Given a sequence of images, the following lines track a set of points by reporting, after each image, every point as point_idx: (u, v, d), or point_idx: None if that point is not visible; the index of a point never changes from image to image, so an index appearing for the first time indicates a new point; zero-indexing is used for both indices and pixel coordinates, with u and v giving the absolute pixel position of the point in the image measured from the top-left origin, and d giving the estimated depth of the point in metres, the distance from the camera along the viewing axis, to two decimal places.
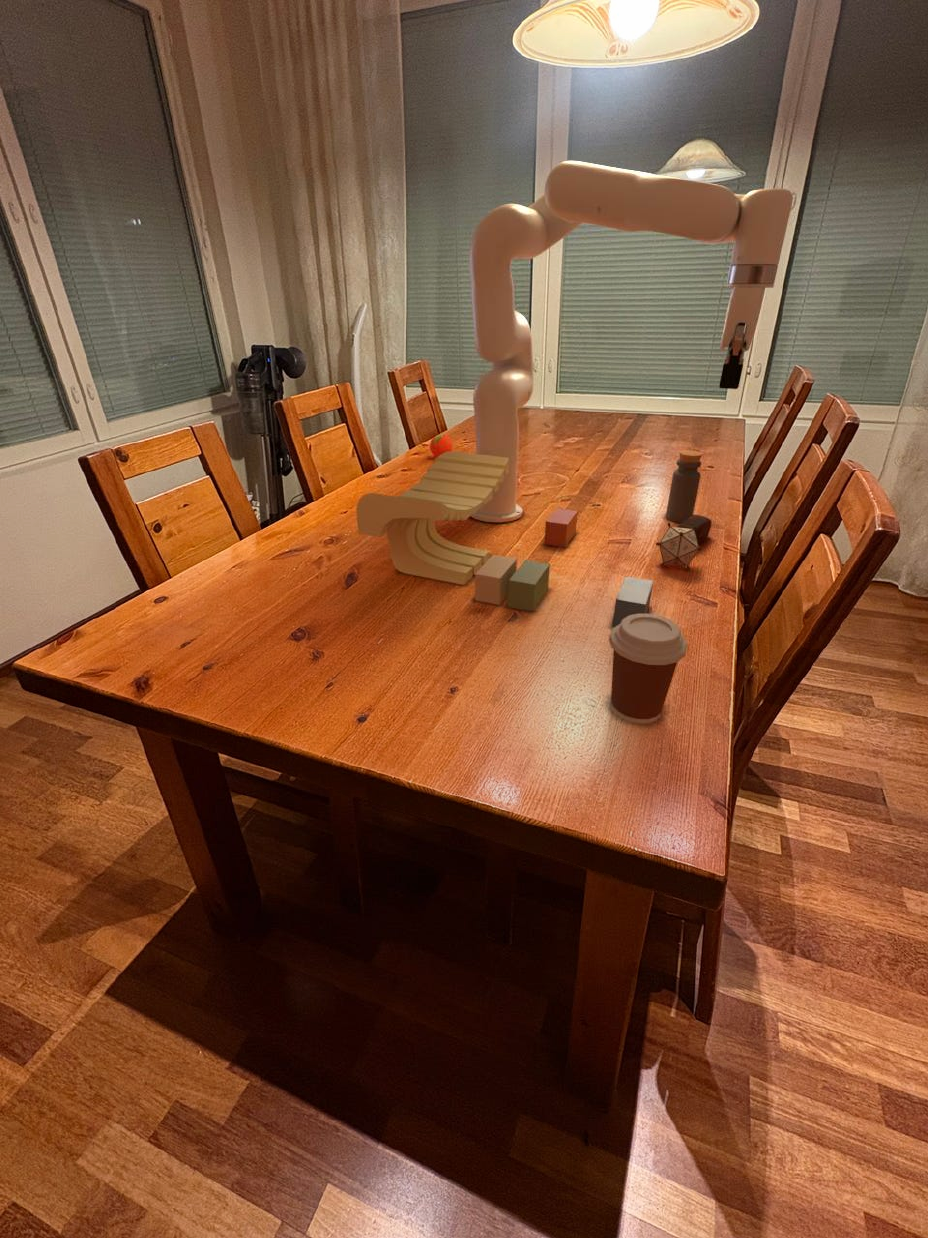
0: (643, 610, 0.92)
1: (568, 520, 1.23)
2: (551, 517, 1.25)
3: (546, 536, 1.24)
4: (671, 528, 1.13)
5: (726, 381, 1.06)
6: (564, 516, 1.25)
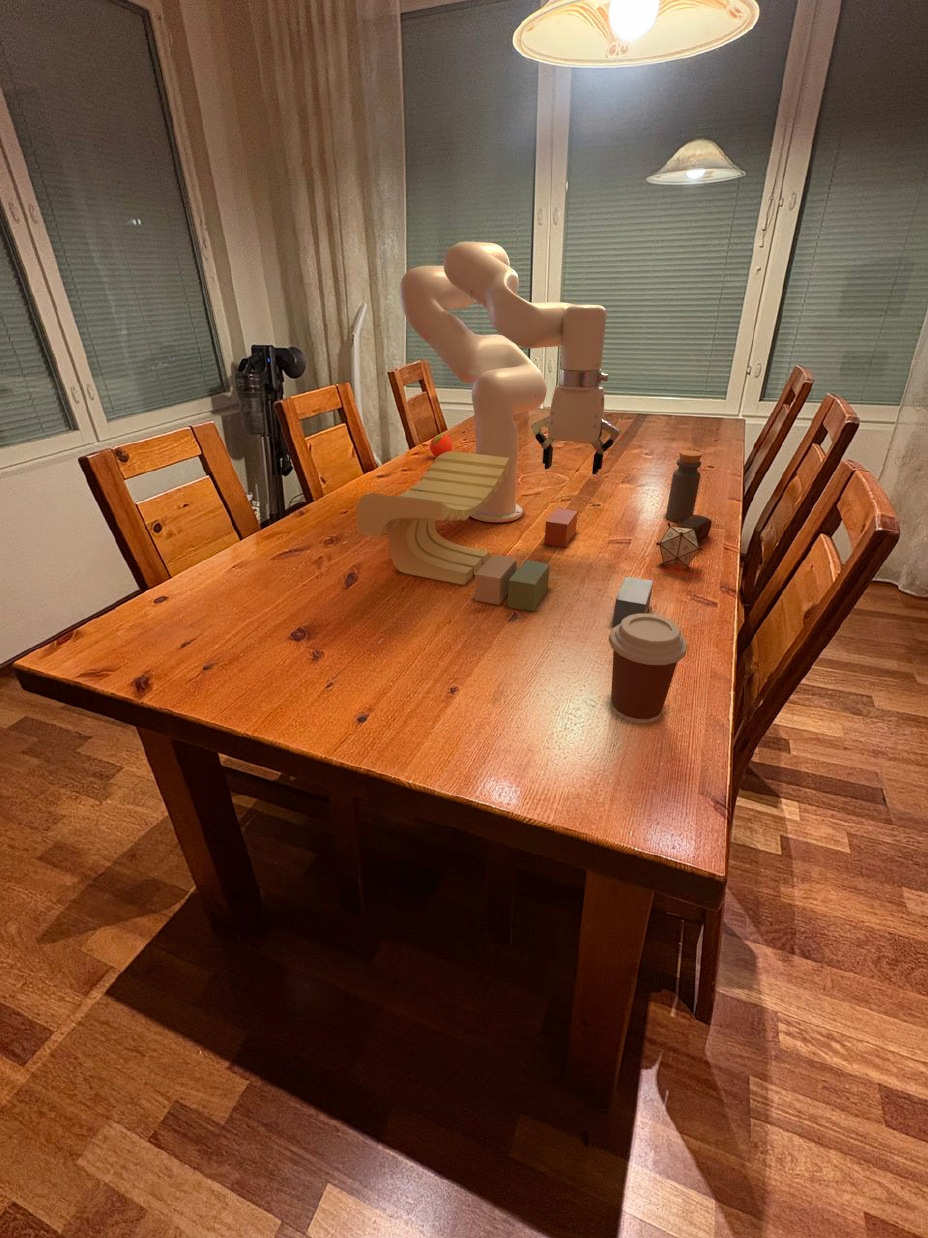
0: (643, 610, 0.92)
1: (568, 520, 1.23)
2: (551, 517, 1.25)
3: (546, 536, 1.24)
4: (671, 528, 1.13)
5: None
6: (564, 516, 1.25)
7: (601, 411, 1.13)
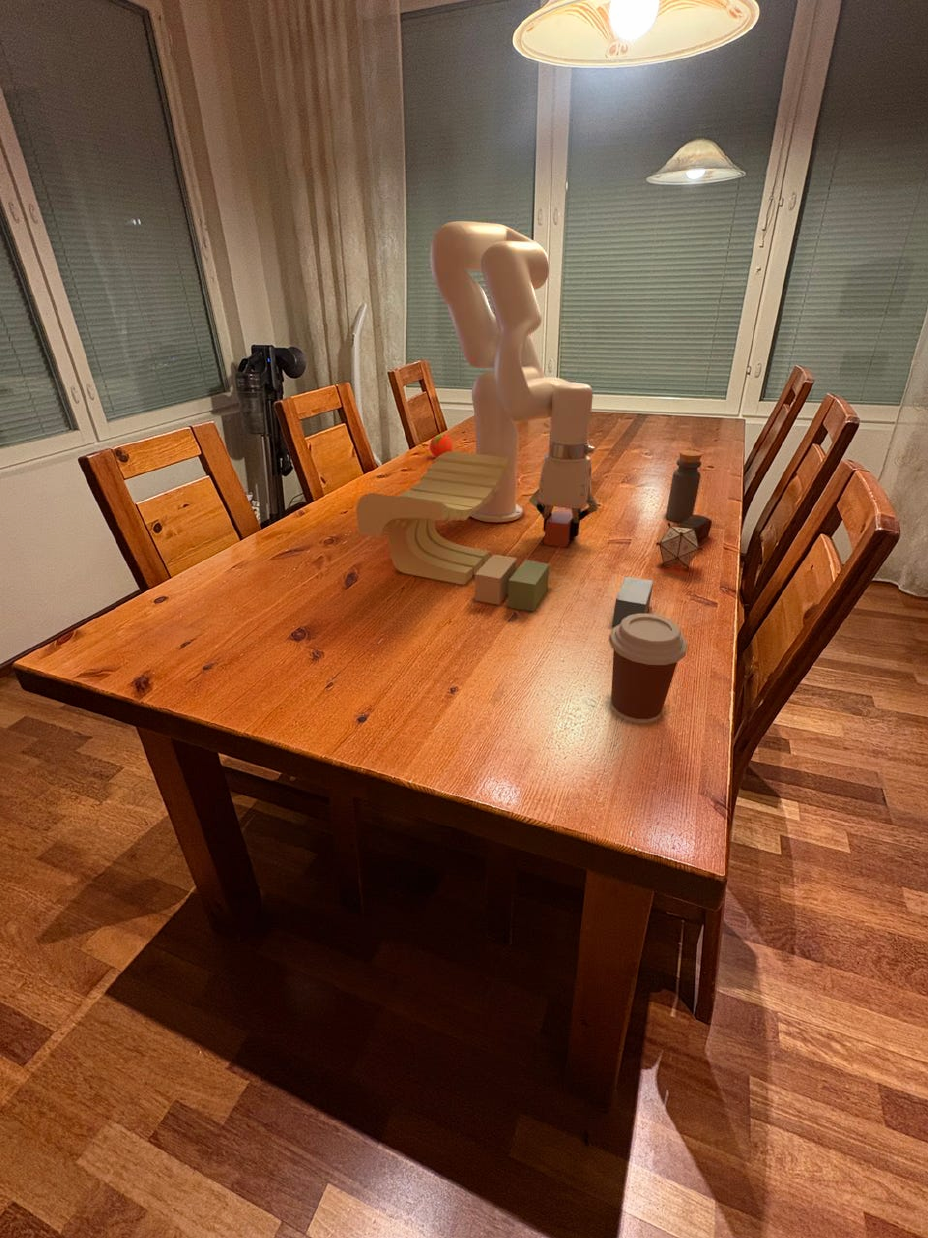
0: (643, 610, 0.92)
1: (568, 520, 1.23)
2: (551, 517, 1.25)
3: (546, 536, 1.24)
4: (671, 528, 1.13)
5: None
6: (564, 516, 1.25)
7: (588, 480, 1.19)
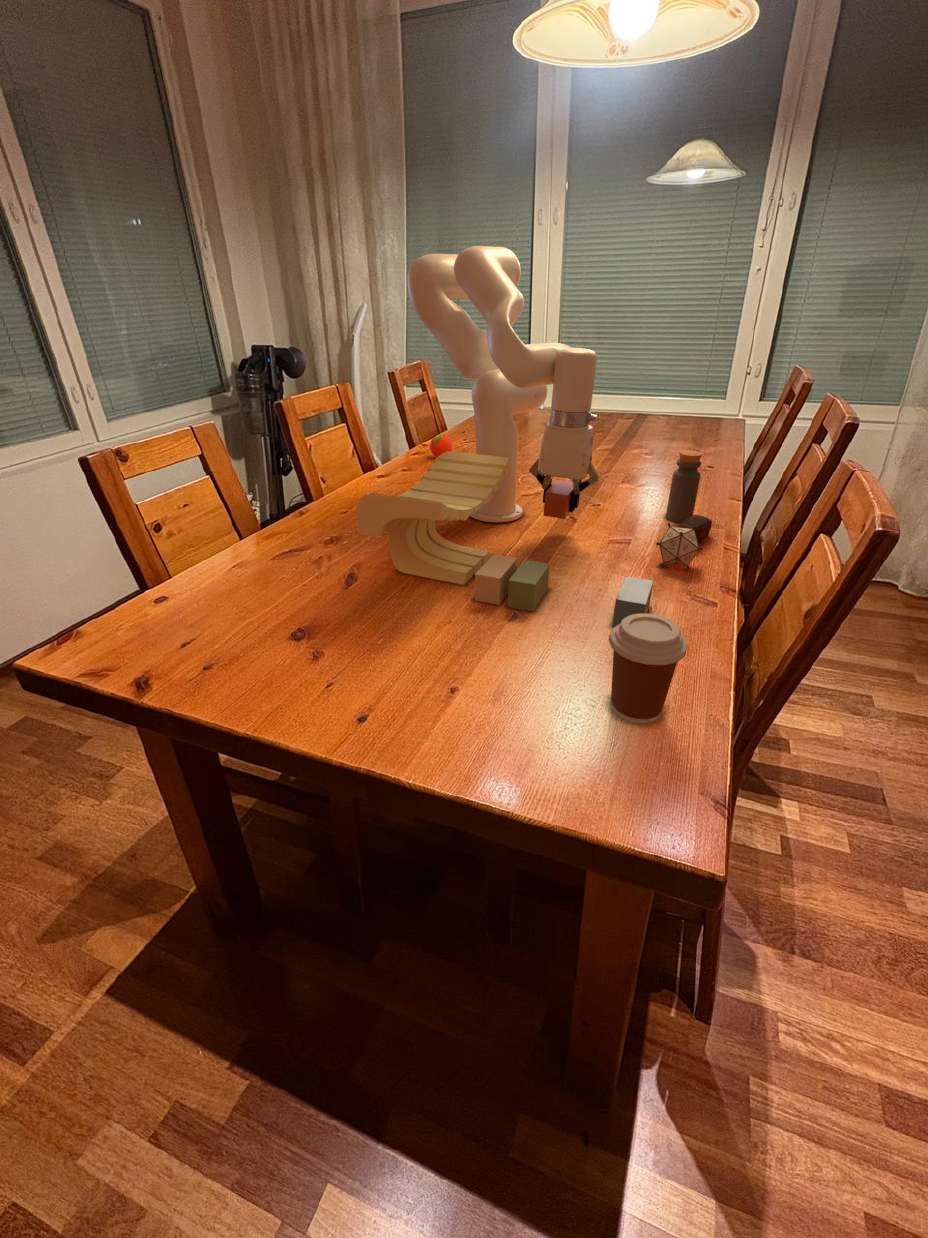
0: (643, 610, 0.92)
1: (568, 491, 1.21)
2: (551, 488, 1.22)
3: (545, 507, 1.22)
4: (671, 528, 1.13)
5: None
6: (564, 487, 1.23)
7: (590, 450, 1.17)
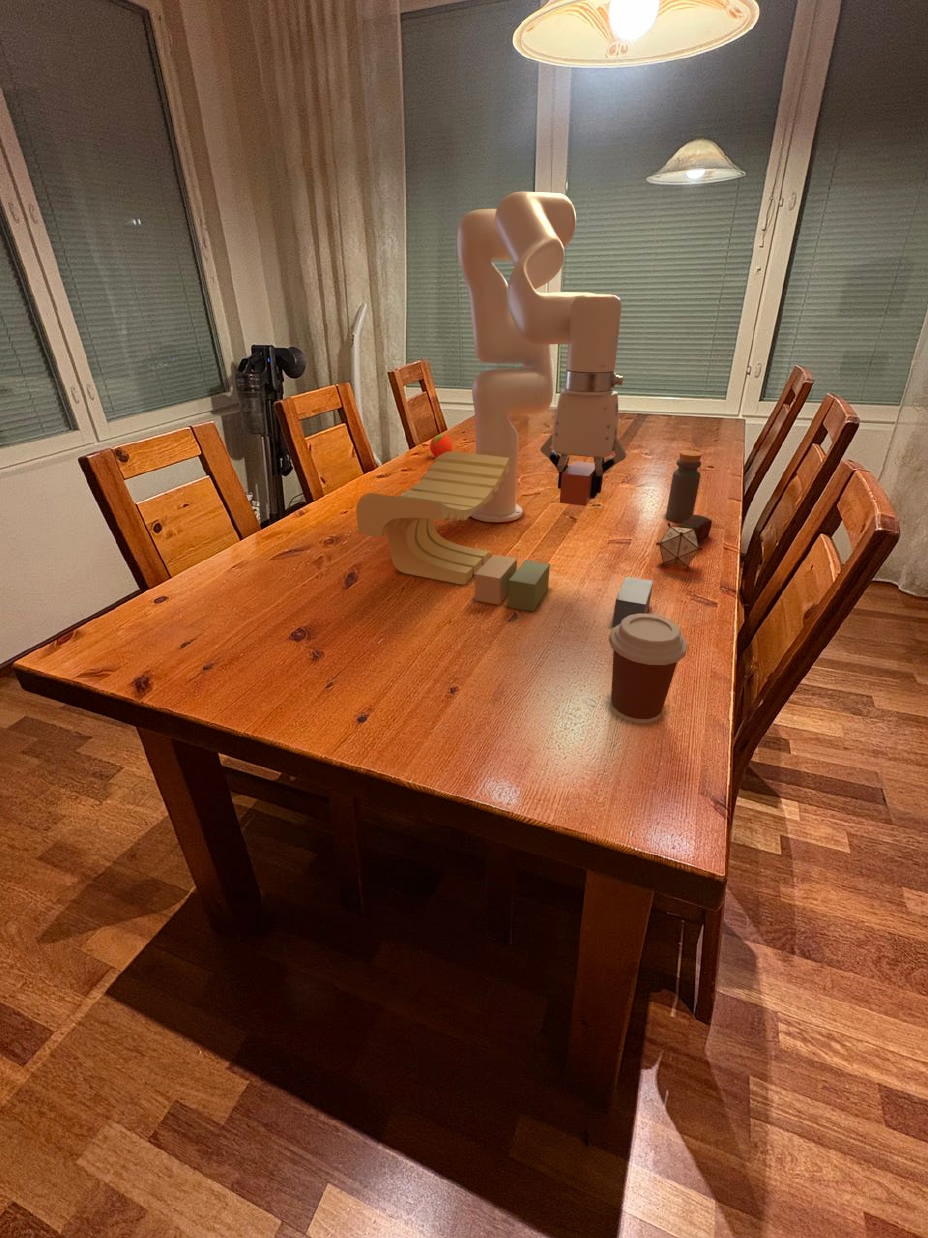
0: (643, 610, 0.92)
1: (589, 472, 1.00)
2: (568, 469, 1.01)
3: (562, 492, 1.01)
4: (671, 528, 1.13)
5: None
6: (584, 468, 1.02)
7: (615, 420, 0.96)
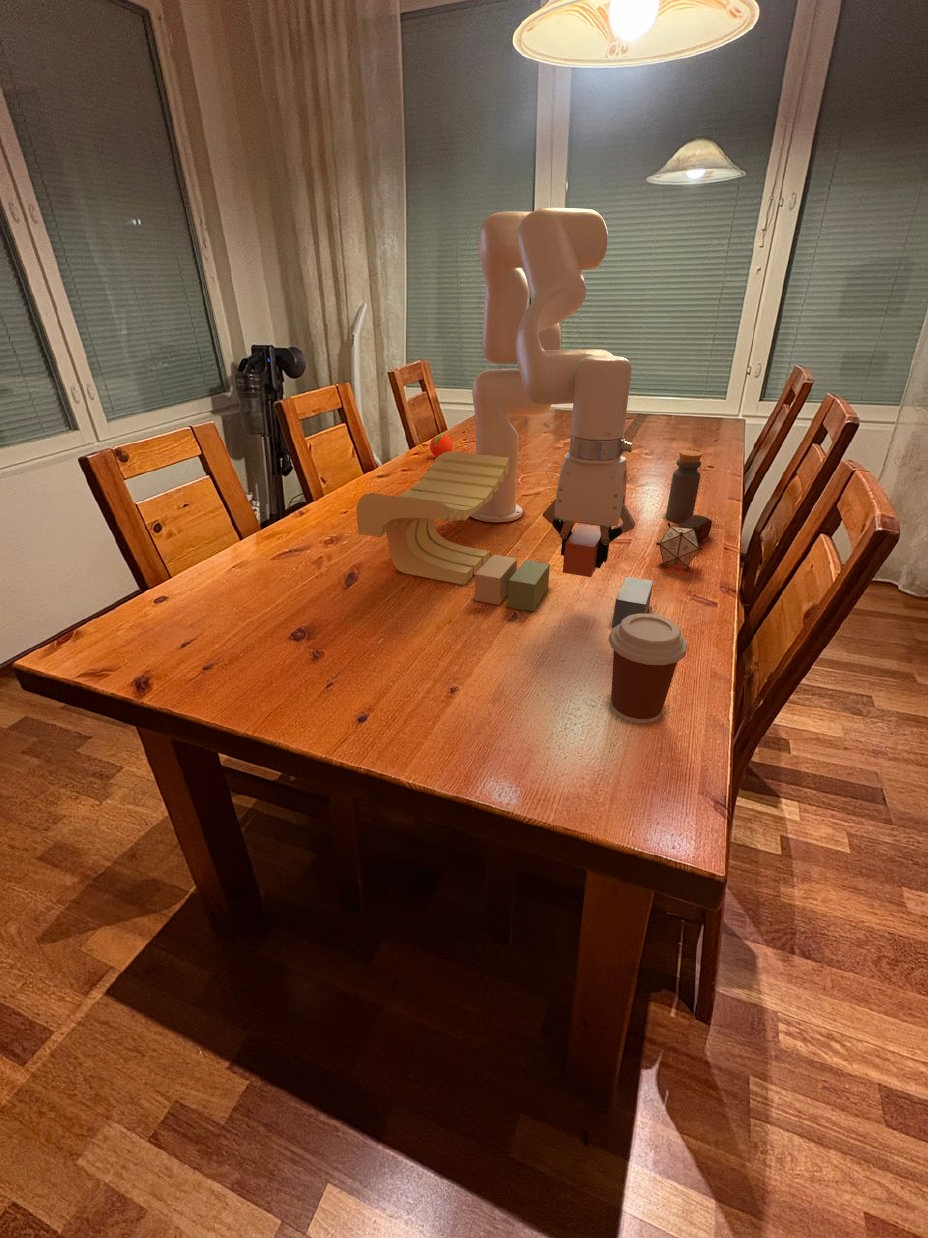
0: (643, 610, 0.92)
1: (595, 541, 0.93)
2: (572, 537, 0.94)
3: (565, 562, 0.93)
4: (671, 528, 1.13)
5: None
6: (589, 535, 0.95)
7: (623, 488, 0.89)
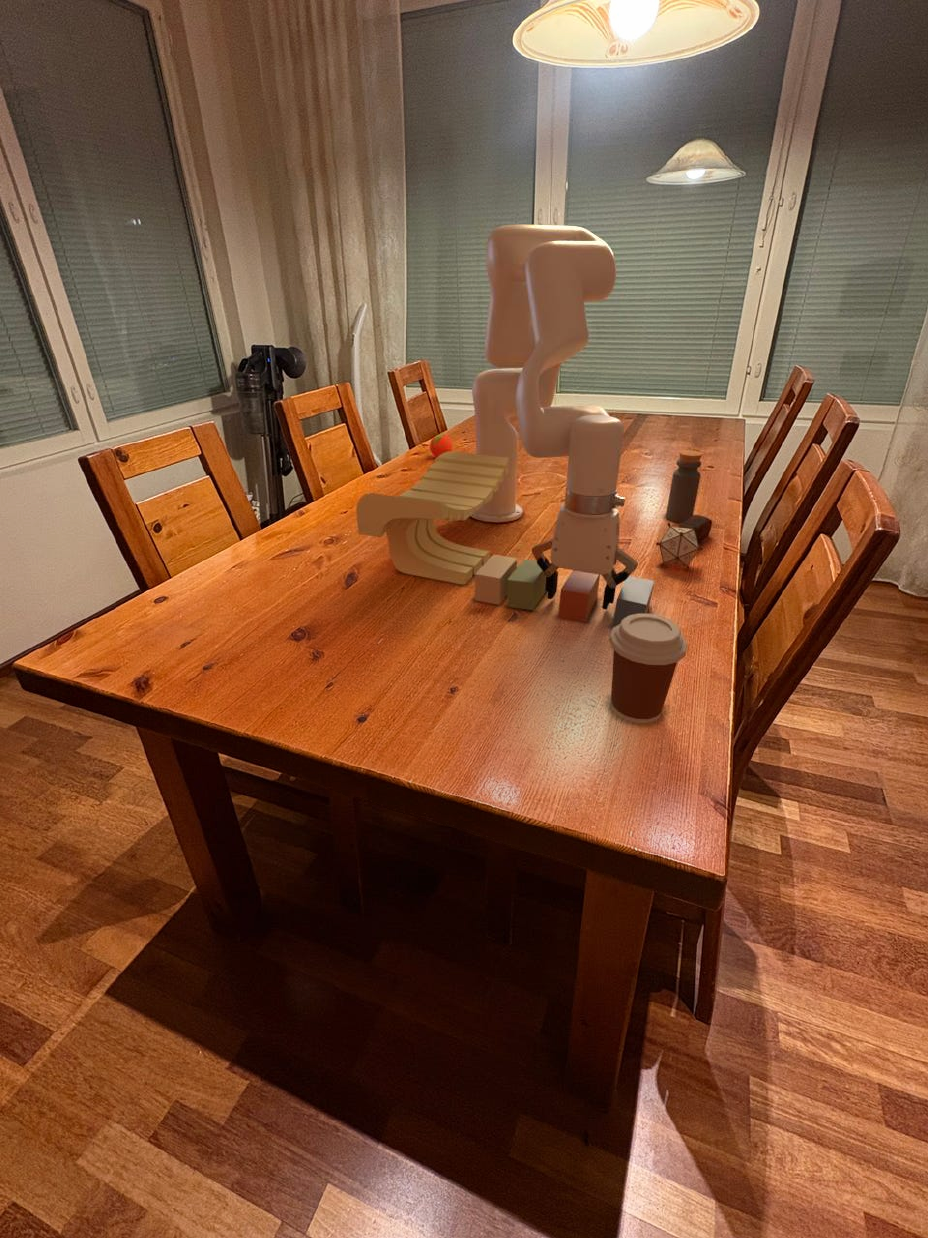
0: (644, 610, 0.92)
1: (589, 587, 0.96)
2: (567, 583, 0.98)
3: (561, 607, 0.97)
4: (671, 528, 1.13)
5: None
6: (584, 581, 0.98)
7: (616, 540, 0.93)
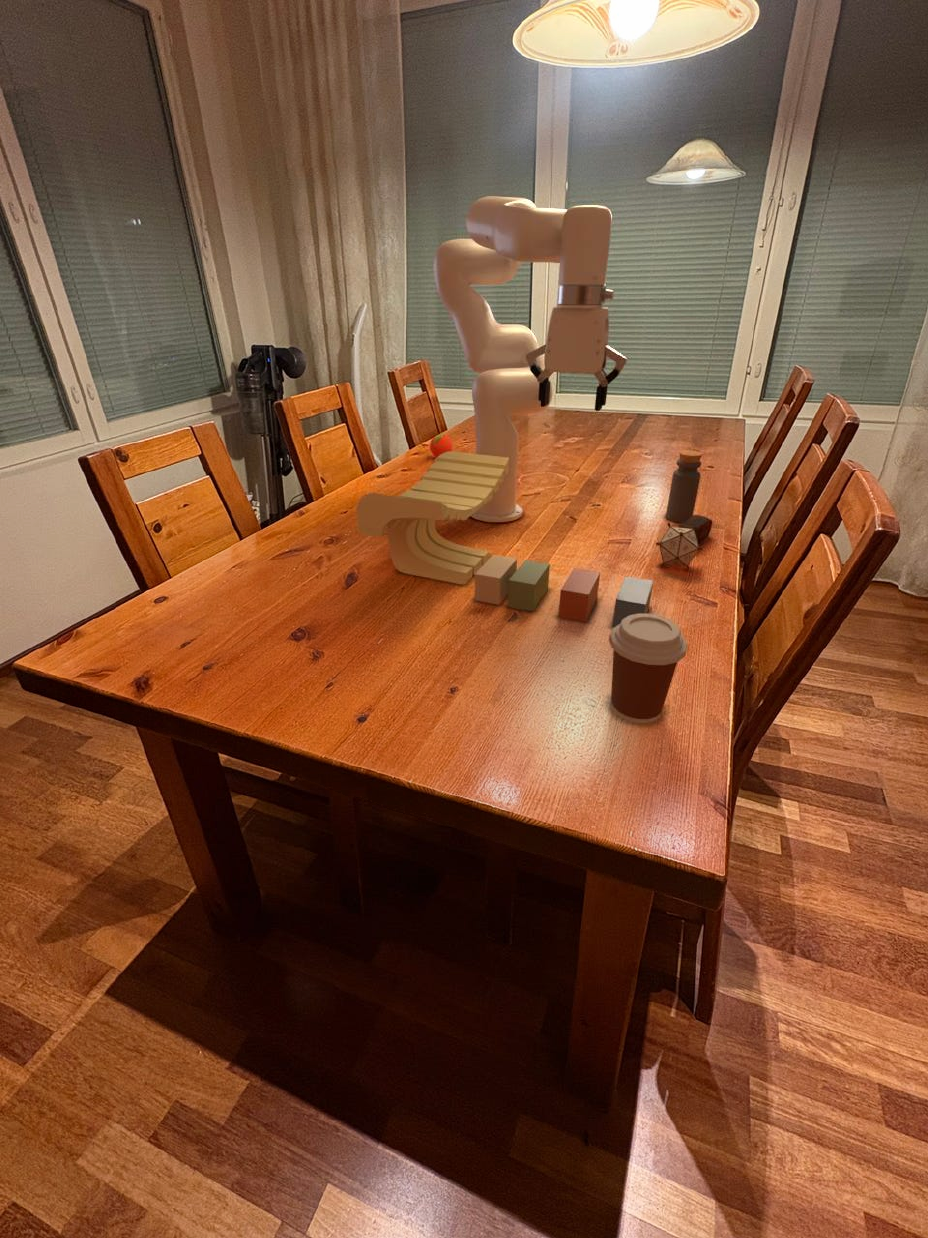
0: (643, 610, 0.92)
1: (589, 587, 0.96)
2: (567, 583, 0.98)
3: (561, 607, 0.97)
4: (671, 528, 1.13)
5: None
6: (584, 581, 0.98)
7: (605, 335, 0.98)
